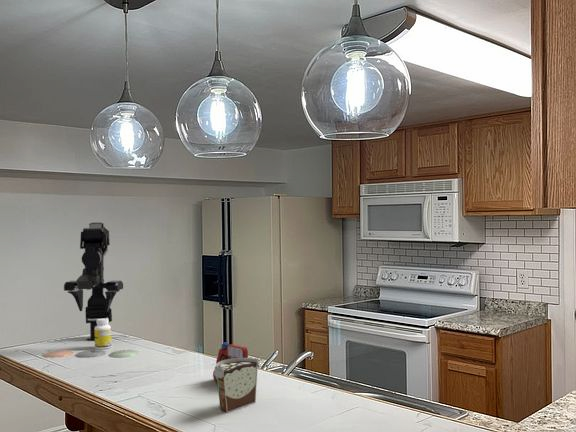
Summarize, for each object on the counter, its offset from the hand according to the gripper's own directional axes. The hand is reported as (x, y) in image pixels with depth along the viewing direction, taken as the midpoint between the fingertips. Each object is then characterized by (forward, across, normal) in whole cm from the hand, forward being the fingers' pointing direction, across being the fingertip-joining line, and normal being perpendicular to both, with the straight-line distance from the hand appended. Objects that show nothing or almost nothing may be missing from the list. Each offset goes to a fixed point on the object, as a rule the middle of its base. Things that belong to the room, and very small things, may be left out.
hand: (94, 311), depth 201 cm
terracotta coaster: (+13, -9, -8) cm, 18 cm away
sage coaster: (+13, +13, -7) cm, 20 cm away
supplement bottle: (+13, +2, +2) cm, 14 cm away
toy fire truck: (+12, +55, -40) cm, 69 cm away
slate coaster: (+13, +2, -8) cm, 15 cm away
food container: (+11, +59, -59) cm, 84 cm away
